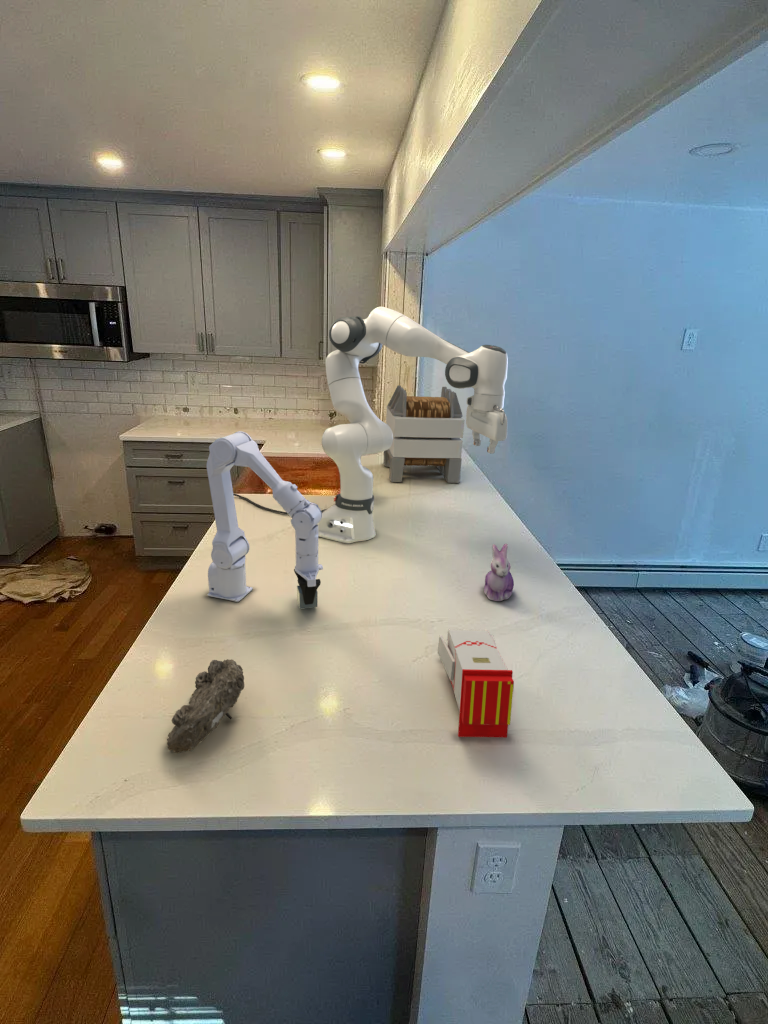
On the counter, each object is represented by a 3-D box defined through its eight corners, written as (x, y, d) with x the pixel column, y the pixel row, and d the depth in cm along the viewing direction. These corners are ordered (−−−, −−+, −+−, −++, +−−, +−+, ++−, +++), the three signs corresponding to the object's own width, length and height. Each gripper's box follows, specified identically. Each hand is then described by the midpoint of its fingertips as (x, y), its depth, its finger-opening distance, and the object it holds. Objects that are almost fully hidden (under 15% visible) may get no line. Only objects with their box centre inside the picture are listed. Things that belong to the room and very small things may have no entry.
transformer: (382, 463, 289) (386, 382, 275) (445, 464, 293) (451, 384, 279) (390, 482, 257) (394, 392, 243) (460, 483, 261) (468, 394, 247)
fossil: (192, 660, 117) (244, 628, 112) (224, 691, 120) (276, 661, 115) (142, 746, 98) (202, 712, 93) (182, 779, 101) (242, 748, 96)
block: (317, 607, 147) (317, 591, 145) (299, 609, 145) (299, 593, 144) (314, 598, 151) (314, 583, 149) (297, 600, 149) (296, 585, 148)
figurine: (496, 605, 154) (502, 555, 148) (473, 589, 162) (479, 540, 157) (523, 599, 158) (530, 549, 153) (500, 583, 166) (506, 536, 161)
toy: (488, 613, 130) (523, 677, 101) (484, 667, 133) (517, 744, 104) (435, 612, 130) (455, 676, 101) (432, 666, 133) (451, 743, 103)
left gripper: (328, 561, 138) (327, 611, 142) (317, 539, 151) (317, 584, 155) (299, 564, 136) (299, 614, 140) (290, 541, 149) (291, 587, 153)
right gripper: (515, 409, 158) (509, 457, 162) (482, 397, 176) (478, 441, 181) (495, 409, 156) (489, 458, 161) (464, 397, 174) (460, 441, 179)
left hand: (307, 599), depth 148 cm, fingers open, 4 cm apart
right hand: (483, 449), depth 171 cm, fingers open, 8 cm apart
